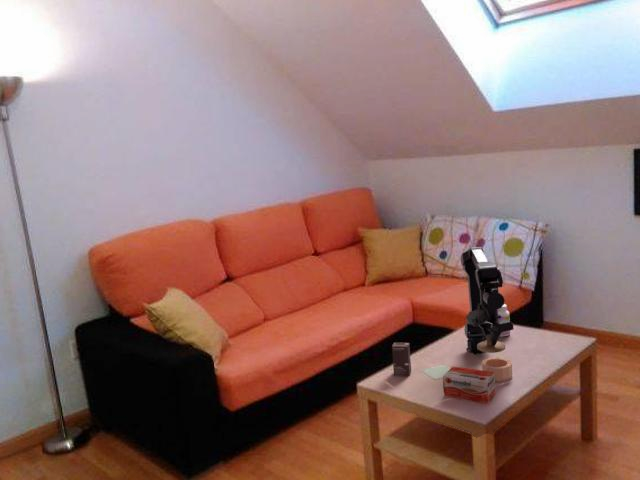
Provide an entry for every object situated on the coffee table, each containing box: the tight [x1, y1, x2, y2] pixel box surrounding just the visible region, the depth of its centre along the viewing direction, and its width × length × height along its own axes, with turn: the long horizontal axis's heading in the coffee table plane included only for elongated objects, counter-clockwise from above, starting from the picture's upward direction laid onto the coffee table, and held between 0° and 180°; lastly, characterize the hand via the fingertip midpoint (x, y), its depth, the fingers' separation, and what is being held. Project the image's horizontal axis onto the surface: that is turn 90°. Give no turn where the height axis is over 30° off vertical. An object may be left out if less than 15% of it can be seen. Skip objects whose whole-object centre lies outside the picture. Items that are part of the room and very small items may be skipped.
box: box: [391, 341, 412, 377], centre depth 217 cm, size 6×4×12 cm
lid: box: [477, 333, 506, 354], centre depth 207 cm, size 10×10×5 cm
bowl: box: [481, 357, 513, 382], centre depth 209 cm, size 10×10×5 cm
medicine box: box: [442, 366, 496, 405], centre depth 196 cm, size 15×8×8 cm, turn 56°
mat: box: [420, 364, 452, 380], centre depth 217 cm, size 10×10×1 cm
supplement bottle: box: [498, 303, 511, 338], centre depth 248 cm, size 7×7×13 cm
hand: (491, 343), depth 207 cm, fingers closed on lid, 3 cm apart
